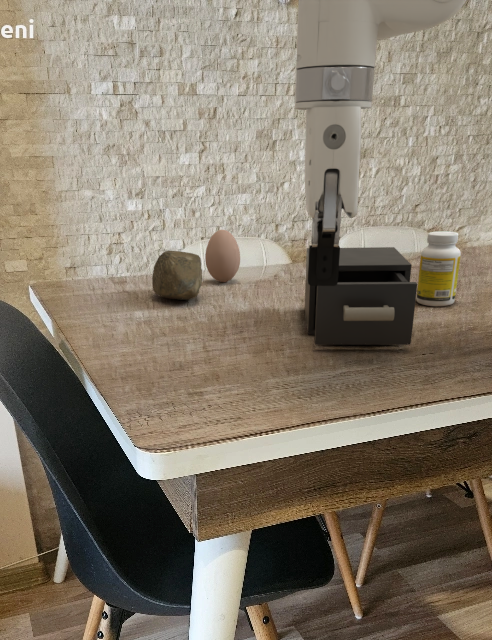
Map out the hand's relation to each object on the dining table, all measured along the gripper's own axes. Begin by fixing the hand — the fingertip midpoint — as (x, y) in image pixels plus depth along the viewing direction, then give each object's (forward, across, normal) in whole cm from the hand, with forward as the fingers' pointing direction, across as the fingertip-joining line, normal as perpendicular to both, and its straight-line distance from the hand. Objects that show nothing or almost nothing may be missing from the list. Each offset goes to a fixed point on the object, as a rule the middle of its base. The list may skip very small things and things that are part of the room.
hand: (322, 284), depth 73 cm
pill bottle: (+11, +39, -22) cm, 46 cm away
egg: (+11, +58, +16) cm, 61 cm away
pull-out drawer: (+10, +16, -6) cm, 20 cm away
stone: (+11, +44, +22) cm, 51 cm away
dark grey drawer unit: (+11, +27, -6) cm, 30 cm away
